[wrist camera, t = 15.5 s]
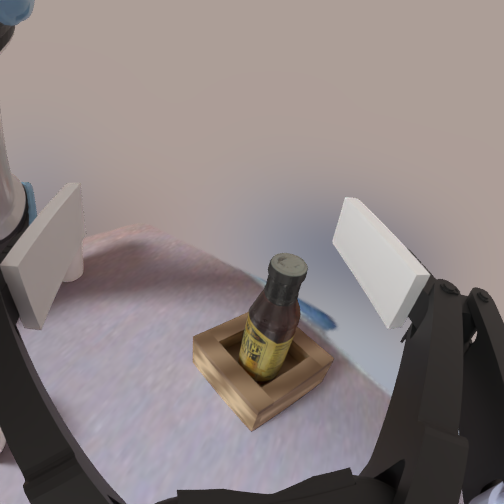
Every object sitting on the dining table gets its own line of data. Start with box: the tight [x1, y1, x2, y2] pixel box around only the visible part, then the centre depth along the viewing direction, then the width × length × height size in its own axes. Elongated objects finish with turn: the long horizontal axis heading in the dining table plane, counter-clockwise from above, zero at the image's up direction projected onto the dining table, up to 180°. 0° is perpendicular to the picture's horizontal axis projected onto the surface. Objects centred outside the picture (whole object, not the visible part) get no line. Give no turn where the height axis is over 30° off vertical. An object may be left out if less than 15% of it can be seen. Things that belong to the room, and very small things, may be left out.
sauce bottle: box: [238, 253, 308, 385], centre depth 38 cm, size 7×6×20 cm
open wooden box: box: [193, 312, 334, 432], centre depth 42 cm, size 14×14×6 cm
